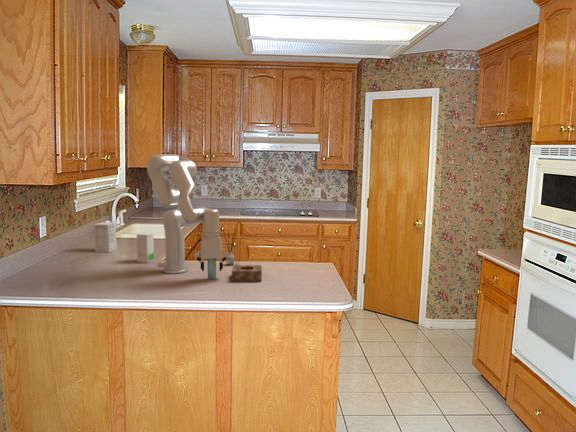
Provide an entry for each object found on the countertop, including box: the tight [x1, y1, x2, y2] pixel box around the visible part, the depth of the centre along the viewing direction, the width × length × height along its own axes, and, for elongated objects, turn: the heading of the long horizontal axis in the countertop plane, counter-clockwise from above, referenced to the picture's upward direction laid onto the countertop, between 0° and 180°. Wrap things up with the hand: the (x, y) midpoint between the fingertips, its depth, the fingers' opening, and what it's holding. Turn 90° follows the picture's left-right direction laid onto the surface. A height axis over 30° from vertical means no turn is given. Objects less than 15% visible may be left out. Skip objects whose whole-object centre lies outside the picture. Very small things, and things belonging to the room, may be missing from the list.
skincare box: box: [136, 232, 155, 264], centre depth 280 cm, size 8×7×16 cm
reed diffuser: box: [222, 228, 241, 265], centre depth 274 cm, size 10×7×20 cm
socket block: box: [231, 264, 263, 283], centre depth 247 cm, size 14×12×5 cm
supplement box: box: [93, 221, 118, 253], centre depth 306 cm, size 10×9×17 cm
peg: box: [206, 259, 217, 280], centre depth 246 cm, size 4×4×10 cm
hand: (211, 270), depth 246 cm, fingers open, 7 cm apart
